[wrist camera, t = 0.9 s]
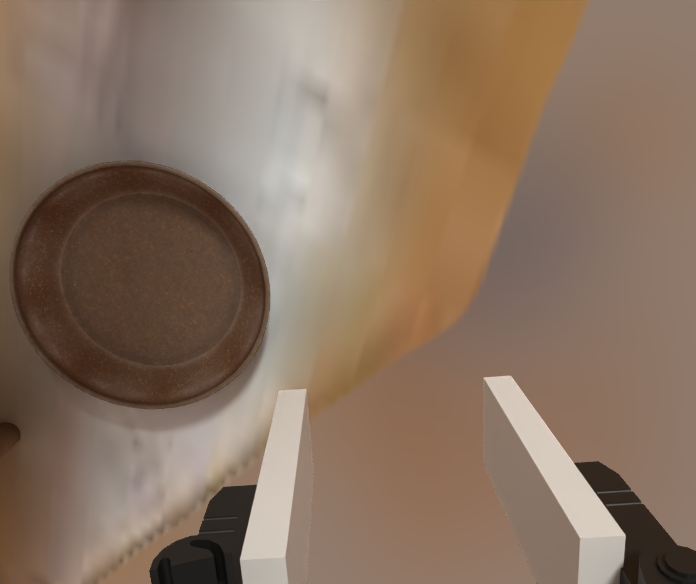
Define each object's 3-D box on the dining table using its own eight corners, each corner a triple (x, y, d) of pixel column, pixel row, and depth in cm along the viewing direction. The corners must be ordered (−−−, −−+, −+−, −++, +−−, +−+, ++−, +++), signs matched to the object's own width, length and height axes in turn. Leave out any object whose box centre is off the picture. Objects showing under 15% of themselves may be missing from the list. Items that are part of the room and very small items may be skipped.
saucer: (235, 419, 38) (227, 440, 35) (11, 350, 36) (-14, 367, 34) (306, 208, 34) (303, 214, 32) (61, 122, 33) (37, 121, 30)
